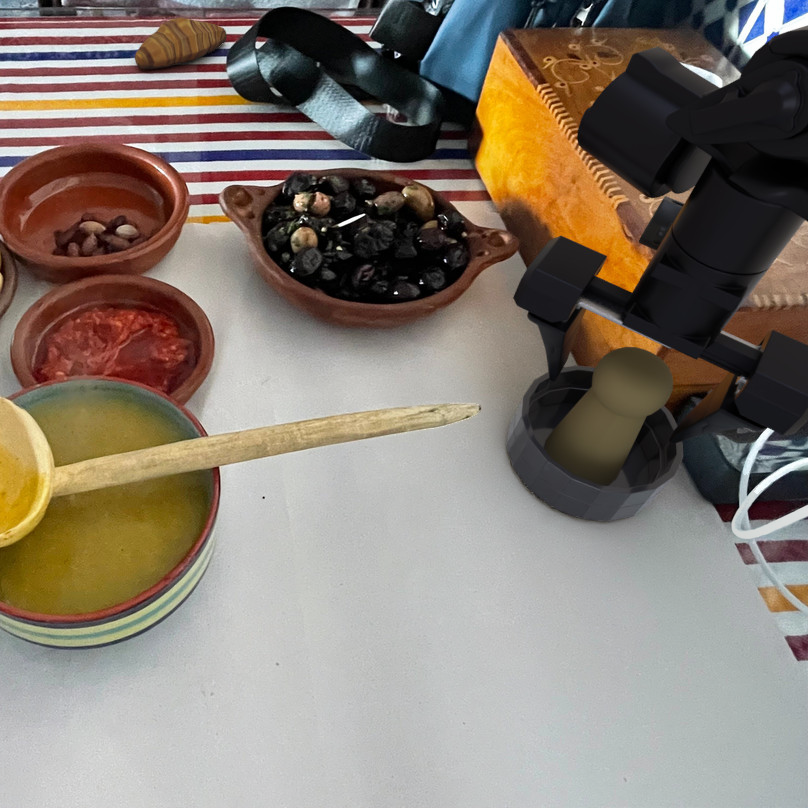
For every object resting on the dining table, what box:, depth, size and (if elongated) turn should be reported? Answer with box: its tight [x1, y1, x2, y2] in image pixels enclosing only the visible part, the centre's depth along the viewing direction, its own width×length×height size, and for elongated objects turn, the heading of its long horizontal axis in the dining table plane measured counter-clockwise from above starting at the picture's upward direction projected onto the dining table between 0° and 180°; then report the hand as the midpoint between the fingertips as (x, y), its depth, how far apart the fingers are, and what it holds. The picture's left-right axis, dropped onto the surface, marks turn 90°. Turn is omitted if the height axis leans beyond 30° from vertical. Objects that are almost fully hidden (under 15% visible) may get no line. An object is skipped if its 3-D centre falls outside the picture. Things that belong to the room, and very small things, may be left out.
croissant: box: [134, 17, 228, 70], centre depth 96 cm, size 14×7×5 cm, turn 129°
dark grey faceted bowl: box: [505, 364, 684, 522], centre depth 60 cm, size 12×12×4 cm
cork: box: [545, 346, 674, 486], centre depth 57 cm, size 6×6×11 cm
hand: (612, 407), depth 56 cm, fingers open, 9 cm apart
